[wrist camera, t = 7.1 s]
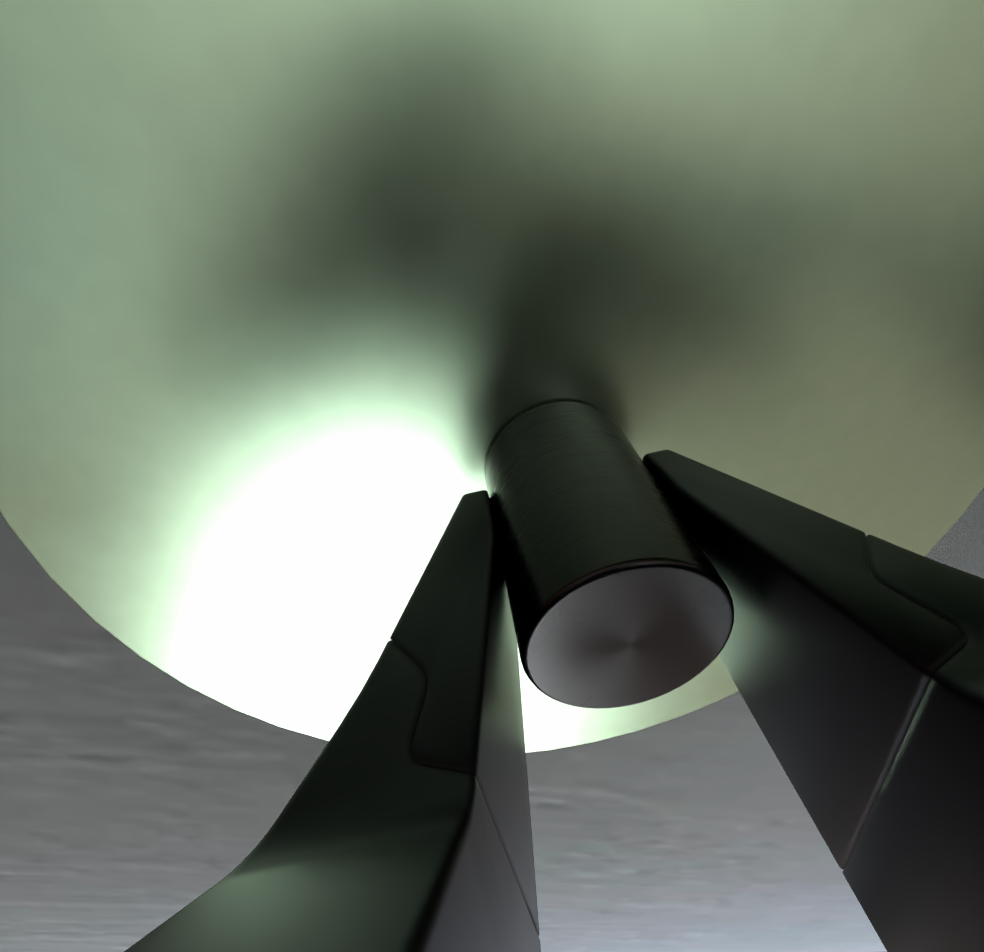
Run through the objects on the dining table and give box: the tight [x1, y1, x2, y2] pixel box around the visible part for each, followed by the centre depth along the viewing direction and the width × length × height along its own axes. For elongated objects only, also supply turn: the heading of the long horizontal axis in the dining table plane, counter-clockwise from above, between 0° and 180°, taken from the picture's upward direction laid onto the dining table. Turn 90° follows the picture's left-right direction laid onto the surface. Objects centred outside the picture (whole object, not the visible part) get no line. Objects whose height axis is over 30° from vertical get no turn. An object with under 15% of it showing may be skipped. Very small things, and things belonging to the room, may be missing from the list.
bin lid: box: [0, 0, 984, 753], centre depth 9 cm, size 19×19×5 cm
